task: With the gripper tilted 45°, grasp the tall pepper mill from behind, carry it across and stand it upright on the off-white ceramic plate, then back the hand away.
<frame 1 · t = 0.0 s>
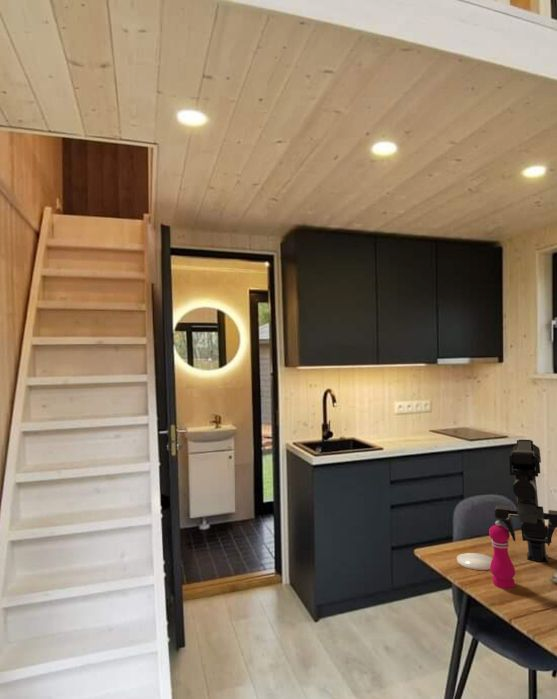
hand: (531, 543, 134), 15 cm above the table, tool pointing down, fingers open, 9 cm apart
ceramic plate: (476, 562, 155), on the table
pepper mill: (503, 584, 138), on the table
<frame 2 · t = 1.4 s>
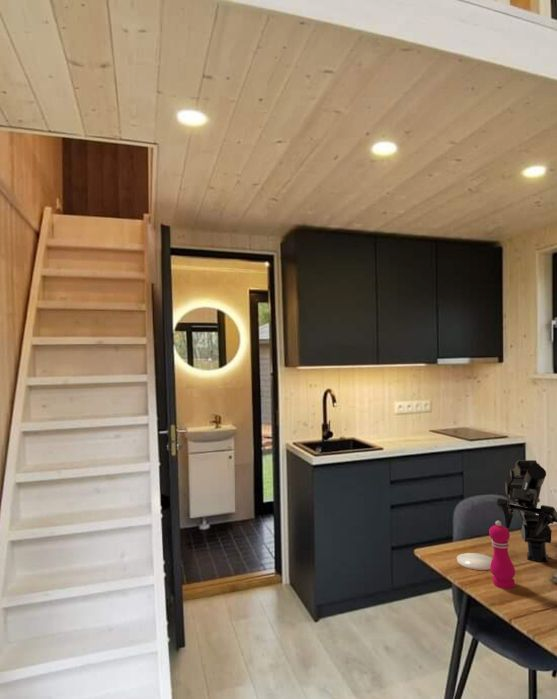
hand: (521, 531, 147), 13 cm above the table, tool tilted 45°, fingers open, 9 cm apart
nothing on the table moved.
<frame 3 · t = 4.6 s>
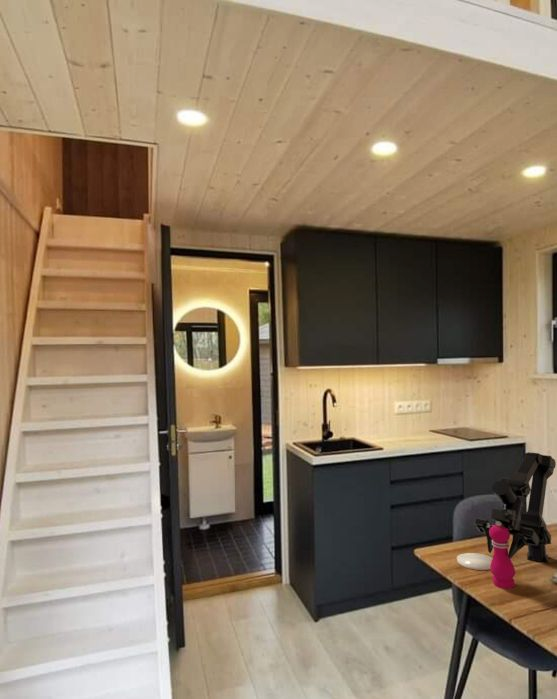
hand: (499, 554, 138), 10 cm above the table, tool tilted 45°, fingers open, 6 cm apart
pepper mill: (503, 584, 138), on the table, touching gripper
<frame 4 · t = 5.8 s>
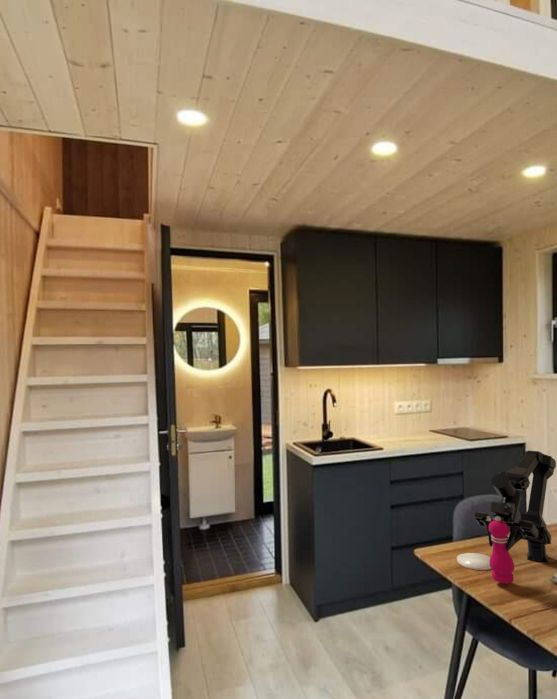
hand: (498, 547, 138), 12 cm above the table, tool tilted 45°, fingers closed on pepper mill, 5 cm apart
pepper mill: (502, 579, 139), point 1 cm above the table, touching gripper
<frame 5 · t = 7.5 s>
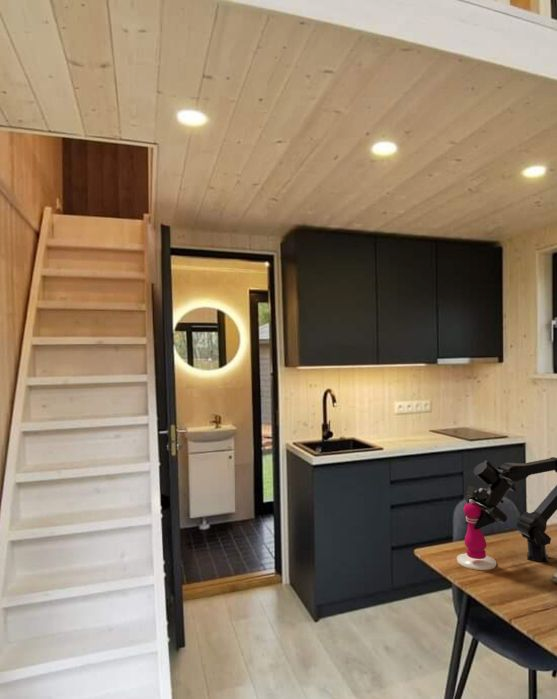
hand: (470, 526, 155), 13 cm above the table, tool tilted 45°, fingers closed on pepper mill, 5 cm apart
pepper mill: (476, 556, 154), point 3 cm above the table, touching gripper
when the fingers open (12 cm above the table, at t = 8.9 s): pepper mill stays where it is, resting on ceramic plate.
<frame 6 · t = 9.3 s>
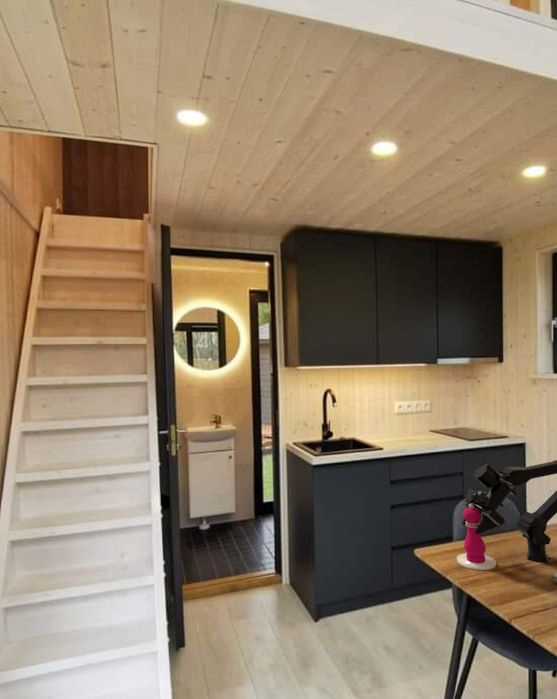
hand: (469, 529, 156), 12 cm above the table, tool tilted 45°, fingers open, 9 cm apart
pepper mill: (475, 560, 156), point 1 cm above the table, touching ceramic plate
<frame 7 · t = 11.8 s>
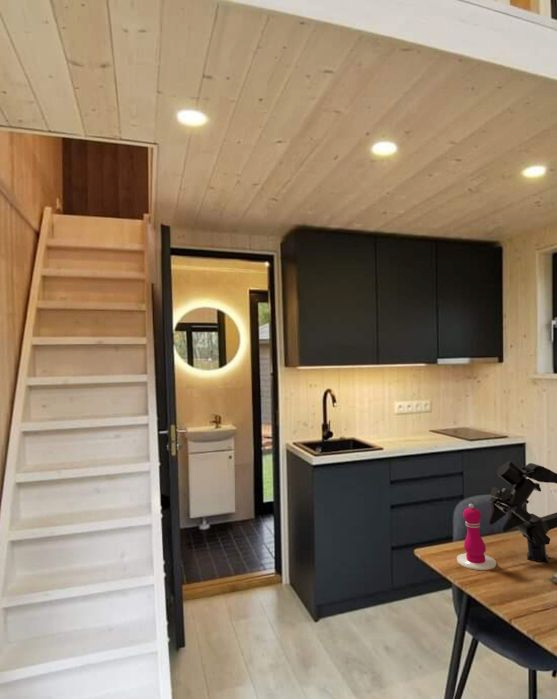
hand: (496, 527, 156), 12 cm above the table, tool tilted 40°, fingers open, 9 cm apart
nothing on the table moved.
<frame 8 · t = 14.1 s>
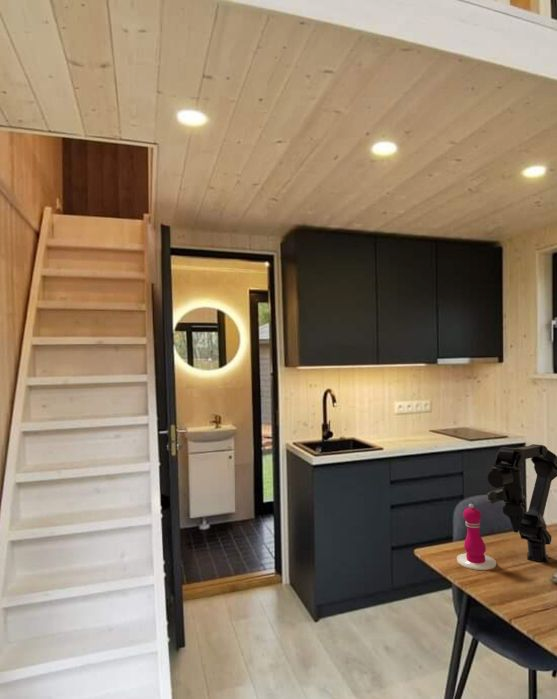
hand: (516, 528, 152), 13 cm above the table, tool pointing down, fingers open, 9 cm apart
nothing on the table moved.
at the end: pepper mill inside the target area on the ceramic plate (0.0 cm from its centre), point 0.6 cm above the ceramic plate's base; pepper mill tilted 0°; the gripper is holding nothing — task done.
